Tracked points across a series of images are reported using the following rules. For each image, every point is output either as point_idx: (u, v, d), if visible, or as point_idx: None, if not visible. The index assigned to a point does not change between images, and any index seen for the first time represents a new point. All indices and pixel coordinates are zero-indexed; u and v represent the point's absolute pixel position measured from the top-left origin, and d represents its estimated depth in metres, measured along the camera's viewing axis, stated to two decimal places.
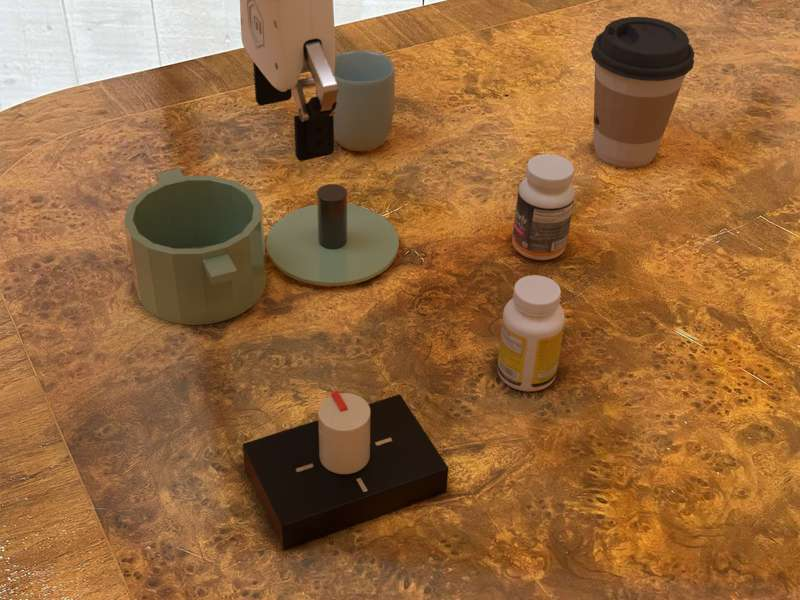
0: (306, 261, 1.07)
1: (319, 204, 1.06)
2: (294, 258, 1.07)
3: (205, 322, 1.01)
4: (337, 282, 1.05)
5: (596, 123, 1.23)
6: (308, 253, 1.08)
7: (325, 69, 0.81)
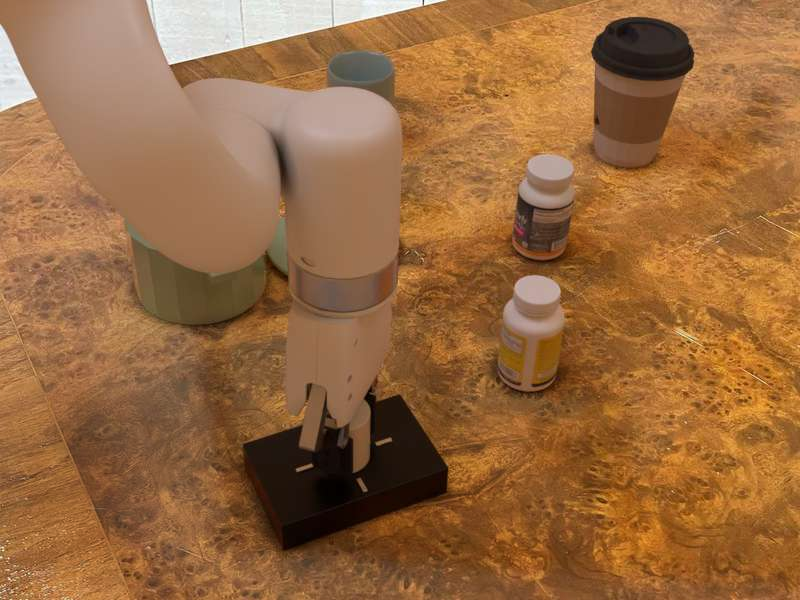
0: None
1: None
2: None
3: (205, 322, 1.01)
4: None
5: (596, 123, 1.23)
6: None
7: (312, 427, 0.74)
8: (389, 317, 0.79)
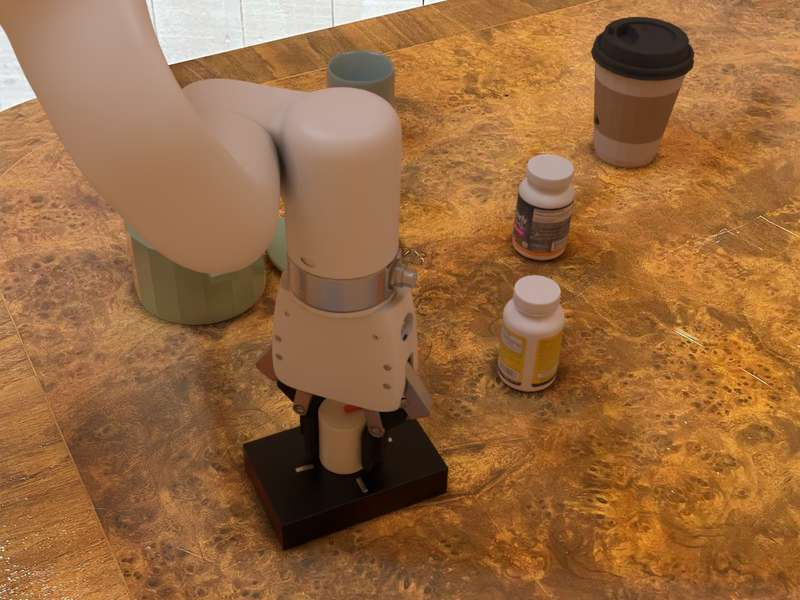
0: None
1: None
2: None
3: (205, 322, 1.01)
4: None
5: (596, 123, 1.23)
6: None
7: (266, 351, 0.80)
8: (377, 371, 0.74)
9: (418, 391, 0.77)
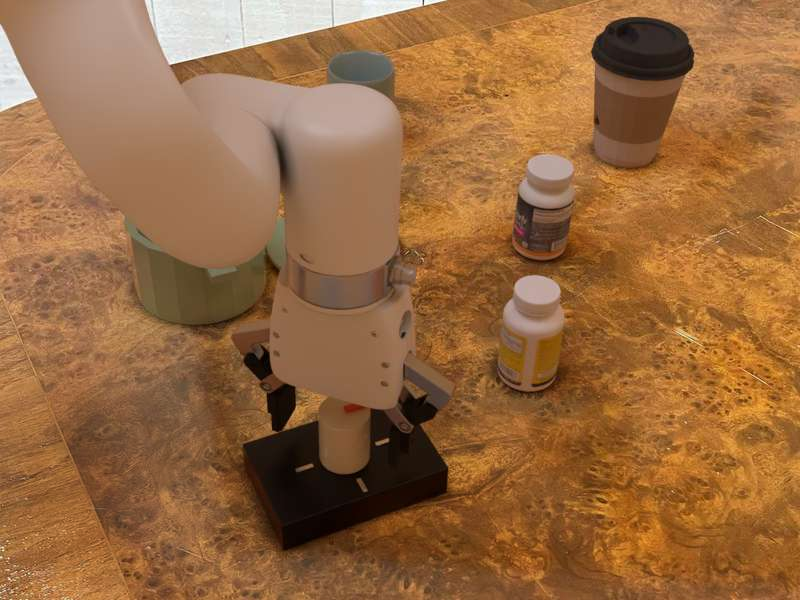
0: None
1: None
2: None
3: (205, 322, 1.01)
4: None
5: (596, 123, 1.23)
6: None
7: (249, 327, 0.79)
8: (375, 369, 0.74)
9: (428, 378, 0.75)
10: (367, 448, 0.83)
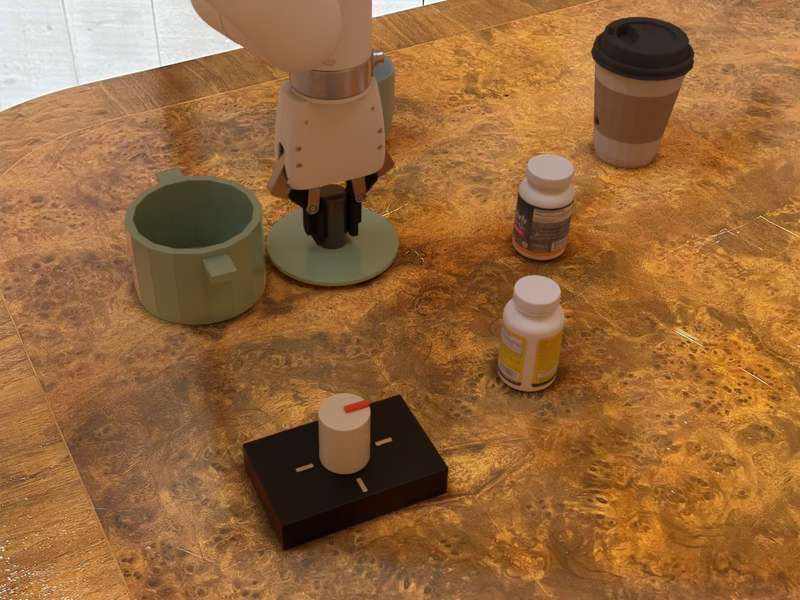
0: (306, 261, 1.07)
1: (319, 204, 1.06)
2: (294, 258, 1.07)
3: (205, 322, 1.01)
4: (337, 282, 1.05)
5: (596, 123, 1.23)
6: (308, 253, 1.08)
7: (274, 177, 1.01)
8: (373, 138, 1.01)
9: (386, 150, 1.05)
10: (367, 448, 0.83)
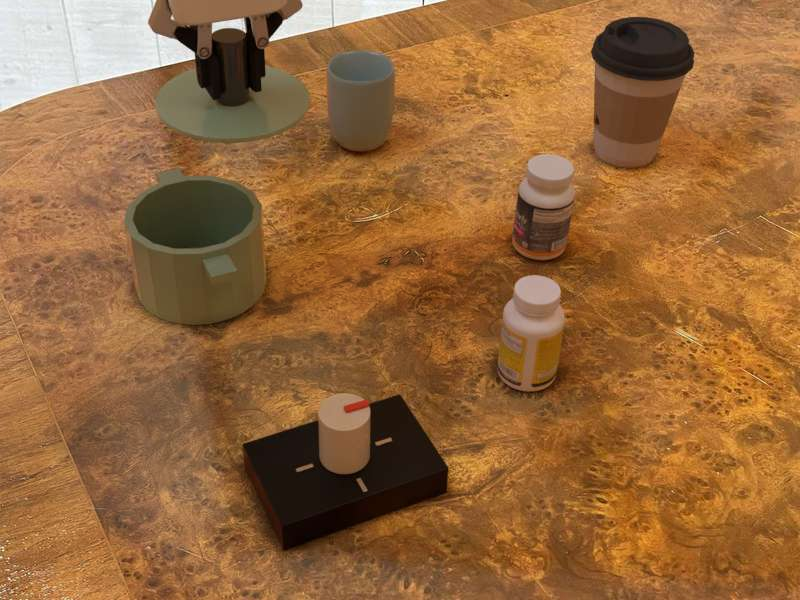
0: (199, 117, 0.92)
1: (213, 49, 0.91)
2: (185, 114, 0.92)
3: (205, 322, 1.01)
4: (233, 138, 0.89)
5: (596, 123, 1.23)
6: (202, 110, 0.93)
7: (156, 9, 0.86)
8: None
9: None
10: (367, 448, 0.83)
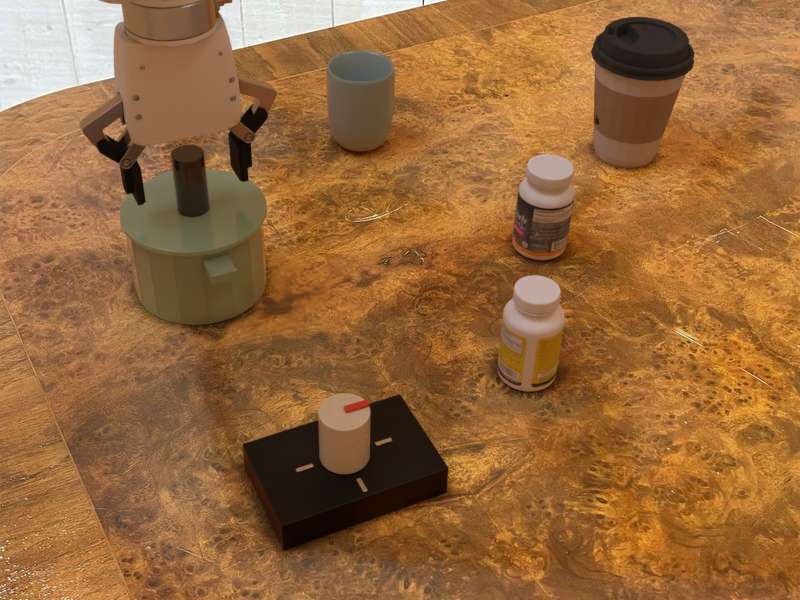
0: (160, 229, 0.97)
1: (173, 166, 0.96)
2: (147, 226, 0.97)
3: (205, 322, 1.01)
4: (191, 252, 0.95)
5: (596, 123, 1.23)
6: (164, 221, 0.98)
7: (96, 115, 0.90)
8: (225, 87, 0.91)
9: (256, 84, 0.94)
10: (367, 448, 0.83)
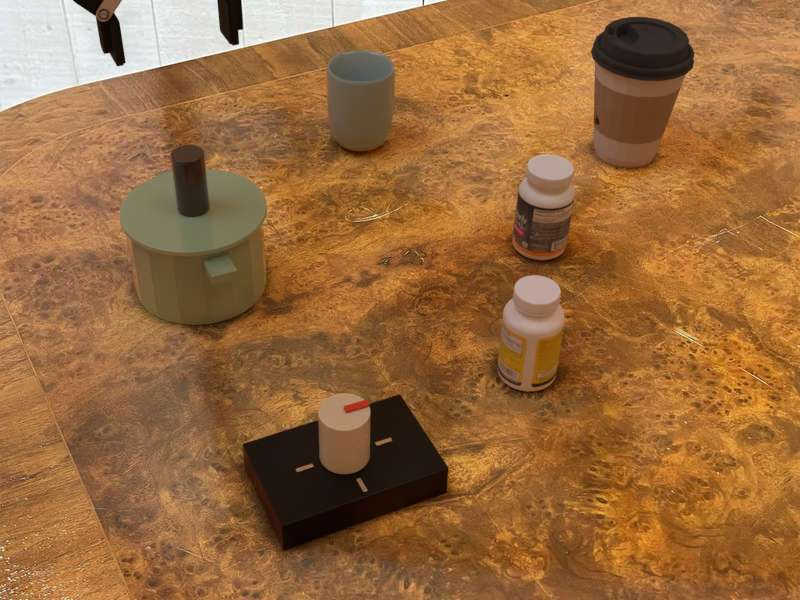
0: (160, 229, 0.97)
1: (173, 166, 0.96)
2: (147, 226, 0.97)
3: (205, 322, 1.01)
4: (191, 252, 0.95)
5: (596, 123, 1.23)
6: (164, 221, 0.98)
7: None
8: None
9: None
10: (367, 448, 0.83)
